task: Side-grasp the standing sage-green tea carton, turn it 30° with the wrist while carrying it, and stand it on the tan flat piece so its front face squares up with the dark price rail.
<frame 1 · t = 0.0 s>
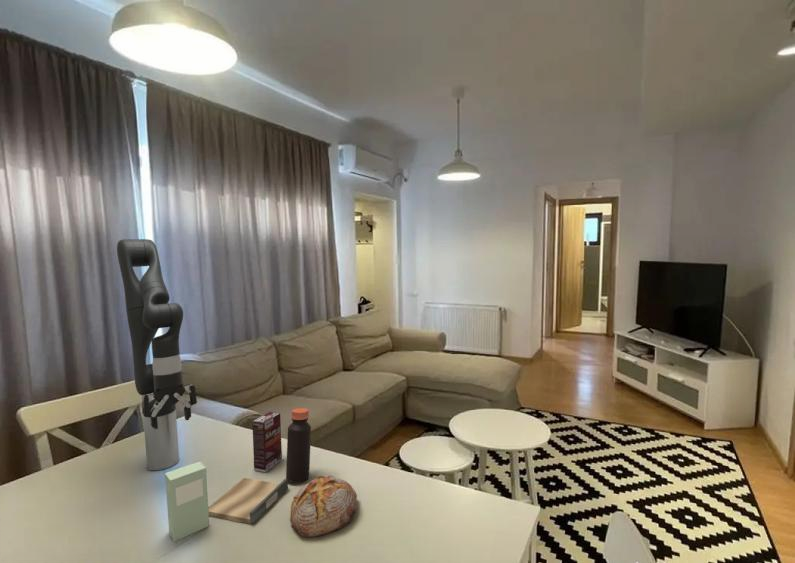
hand: (171, 423, 125), 17 cm above the table, tool pointing down, fingers open, 8 cm apart
supplement box: (268, 465, 133), on the table
tan flat piece: (247, 501, 114), on the table
bread: (324, 515, 107), on the table
tea carton: (189, 528, 103), on the table
bottle: (297, 478, 124), on the table
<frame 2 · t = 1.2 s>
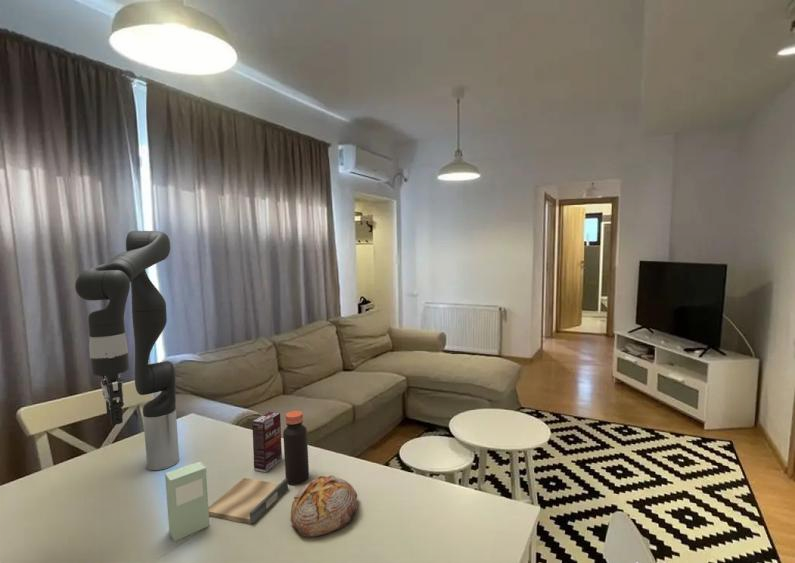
hand: (114, 419, 101), 28 cm above the table, tool pointing down, fingers open, 8 cm apart
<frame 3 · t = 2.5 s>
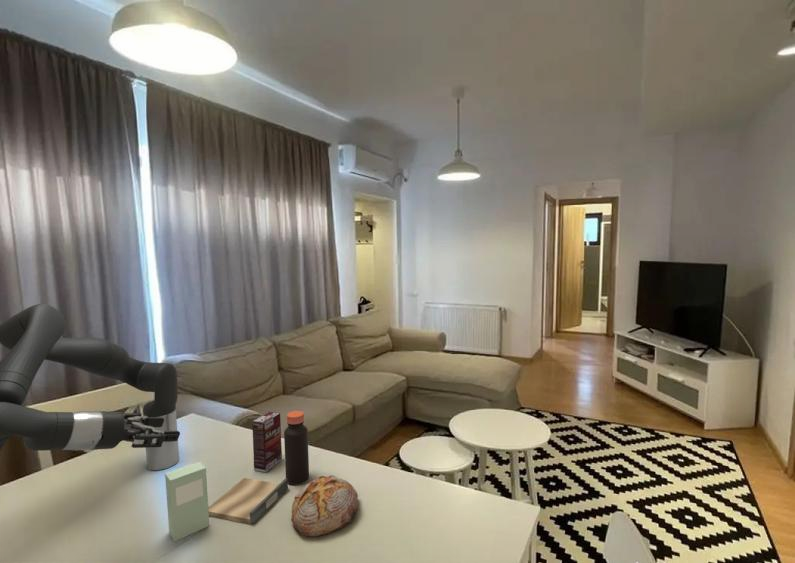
hand: (170, 429, 98), 27 cm above the table, tool tilted 70°, fingers open, 8 cm apart
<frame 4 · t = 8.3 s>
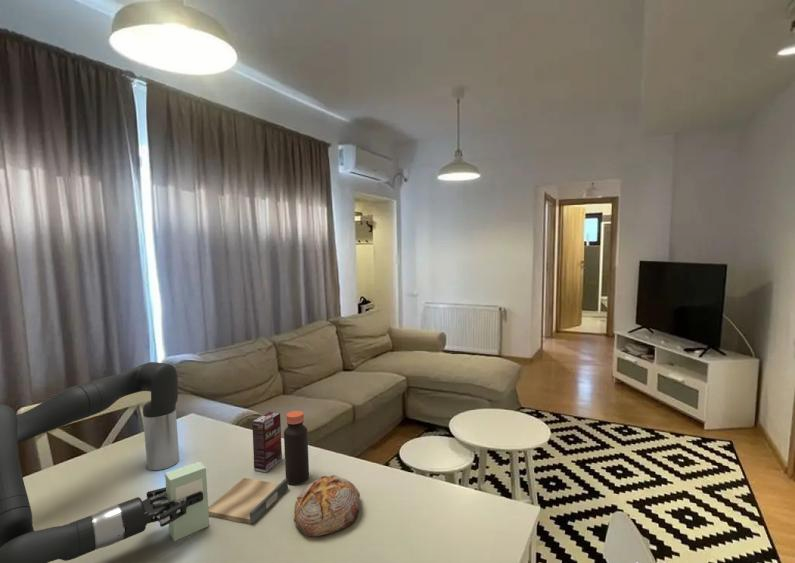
hand: (198, 491, 104), 9 cm above the table, tool horizontal, fingers closed on tea carton, 4 cm apart
tea carton: (189, 528, 103), on the table, touching gripper
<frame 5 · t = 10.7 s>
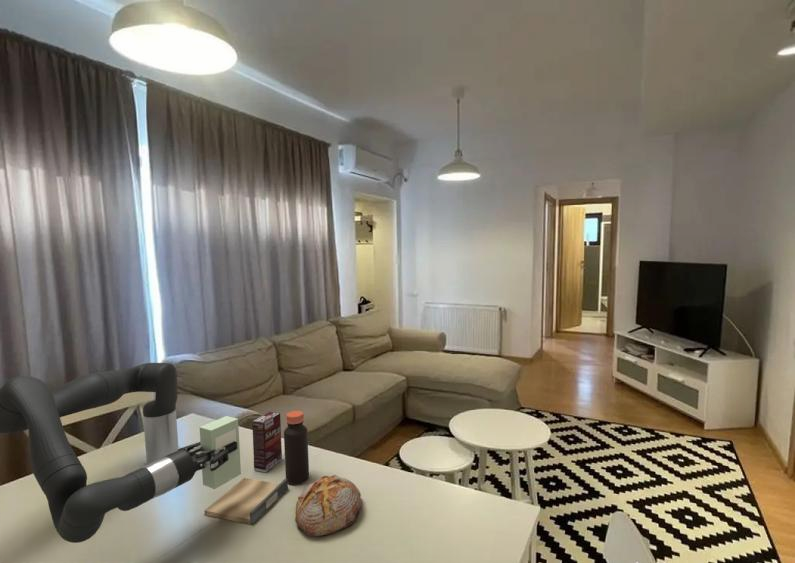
hand: (229, 443, 110), 18 cm above the table, tool horizontal, fingers closed on tea carton, 4 cm apart
tea carton: (222, 479, 108), point 9 cm above the table, touching gripper
when the fingers open (10 cm above the table, at t = 13.5 s): tea carton stays where it is, resting on tan flat piece.
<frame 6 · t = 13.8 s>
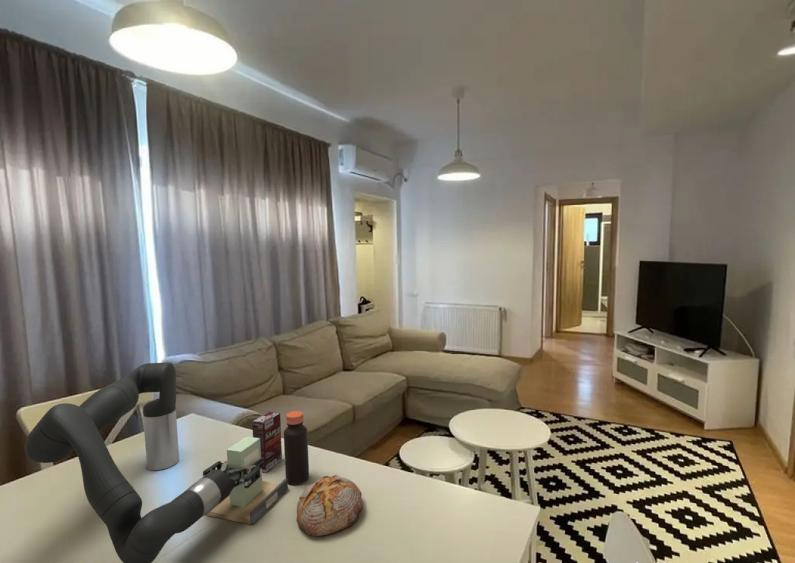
hand: (250, 460, 115), 10 cm above the table, tool horizontal, fingers open, 7 cm apart
tea carton: (246, 496, 114), point 1 cm above the table, touching tan flat piece
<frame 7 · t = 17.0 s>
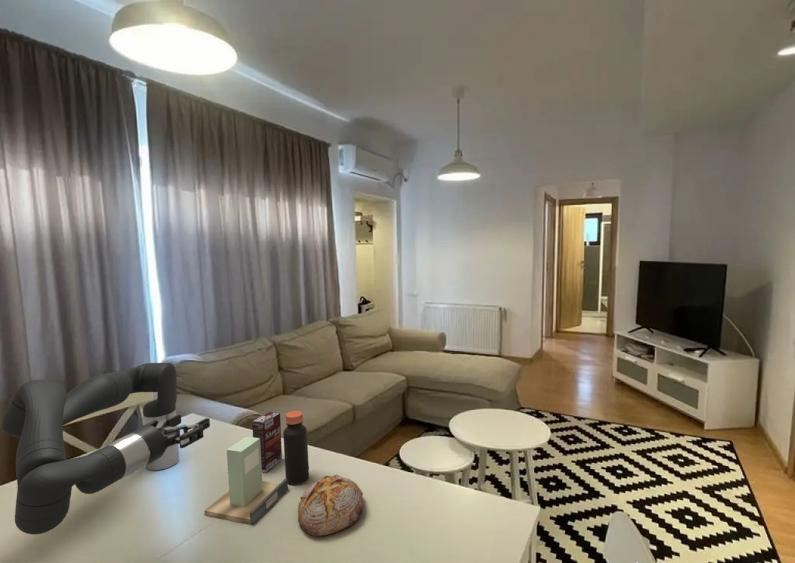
hand: (194, 420, 101), 28 cm above the table, tool horizontal, fingers open, 8 cm apart
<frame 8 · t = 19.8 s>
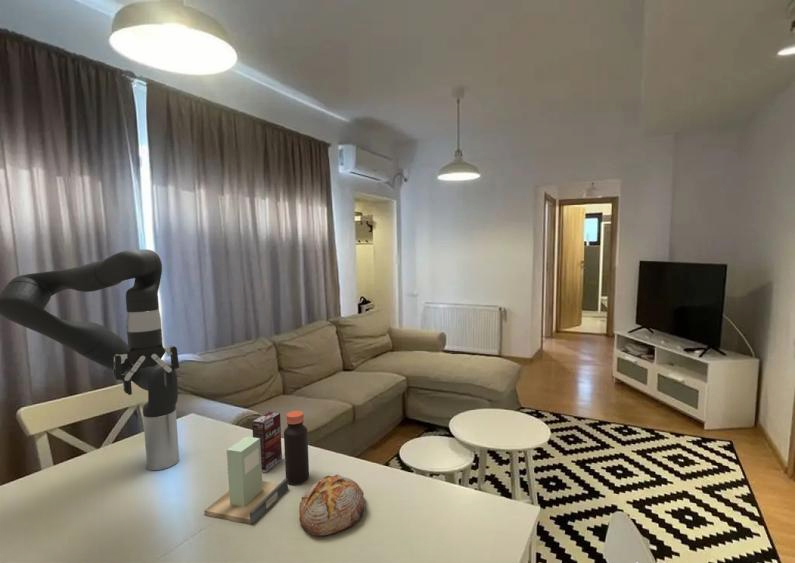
hand: (148, 390, 107), 33 cm above the table, tool pointing down, fingers open, 8 cm apart
at the end: tea carton inside the target area (0.0 cm from its centre), point 1.2 cm above the table; tea carton tilted 0°; the gripper is holding nothing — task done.
